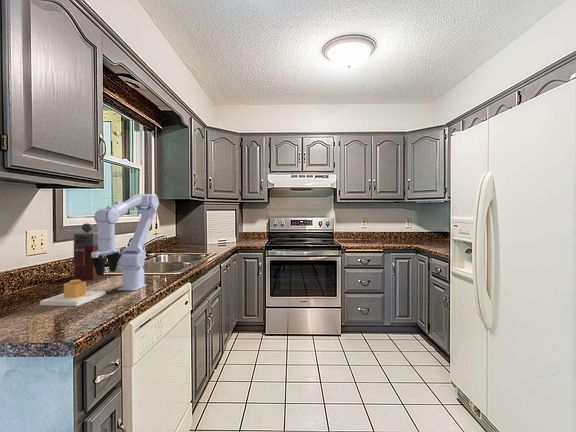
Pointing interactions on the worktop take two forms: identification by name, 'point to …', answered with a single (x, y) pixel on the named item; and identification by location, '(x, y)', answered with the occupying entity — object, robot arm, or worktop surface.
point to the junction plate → (72, 299)
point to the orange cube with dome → (75, 288)
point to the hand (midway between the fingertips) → (106, 273)
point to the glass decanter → (85, 253)
